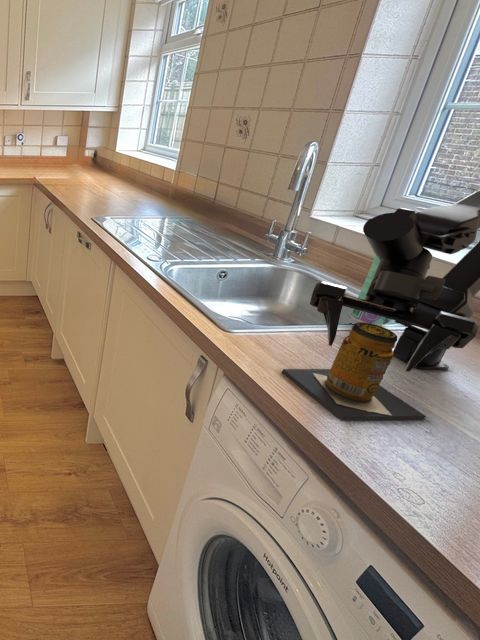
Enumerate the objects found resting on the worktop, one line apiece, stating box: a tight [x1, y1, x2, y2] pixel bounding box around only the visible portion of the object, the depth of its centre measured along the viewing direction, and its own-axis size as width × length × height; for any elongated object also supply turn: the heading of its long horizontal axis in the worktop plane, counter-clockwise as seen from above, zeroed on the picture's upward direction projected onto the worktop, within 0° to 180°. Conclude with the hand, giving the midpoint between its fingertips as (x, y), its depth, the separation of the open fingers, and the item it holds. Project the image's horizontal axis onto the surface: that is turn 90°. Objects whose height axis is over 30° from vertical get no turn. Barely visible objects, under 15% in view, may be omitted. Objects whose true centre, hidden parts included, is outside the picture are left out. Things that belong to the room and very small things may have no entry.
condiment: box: [313, 322, 398, 415], centre depth 66 cm, size 7×8×12 cm
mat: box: [281, 368, 427, 422], centre depth 69 cm, size 14×12×1 cm
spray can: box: [349, 254, 386, 327], centre depth 91 cm, size 6×6×20 cm
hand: (367, 357), depth 65 cm, fingers open, 9 cm apart
